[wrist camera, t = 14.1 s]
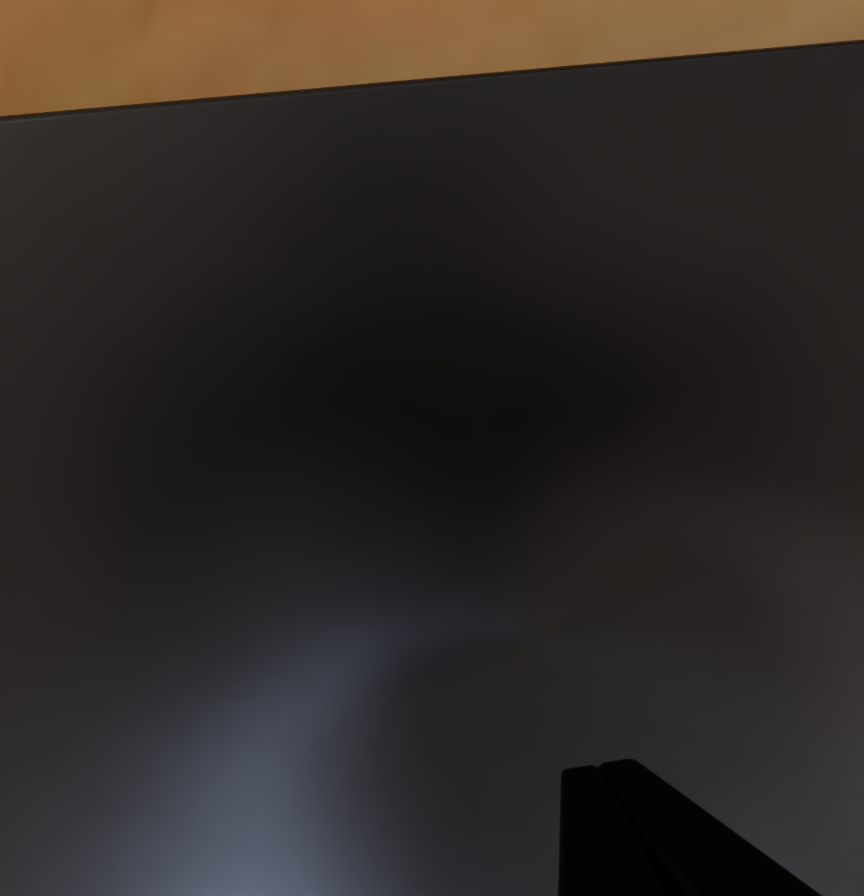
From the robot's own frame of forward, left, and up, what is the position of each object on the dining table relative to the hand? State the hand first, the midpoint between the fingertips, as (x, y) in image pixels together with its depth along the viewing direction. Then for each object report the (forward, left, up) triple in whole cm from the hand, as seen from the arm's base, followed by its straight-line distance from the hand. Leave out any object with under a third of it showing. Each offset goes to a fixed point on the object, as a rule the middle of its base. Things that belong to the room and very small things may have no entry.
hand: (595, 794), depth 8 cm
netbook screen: (0, 0, -3) cm, 4 cm away
